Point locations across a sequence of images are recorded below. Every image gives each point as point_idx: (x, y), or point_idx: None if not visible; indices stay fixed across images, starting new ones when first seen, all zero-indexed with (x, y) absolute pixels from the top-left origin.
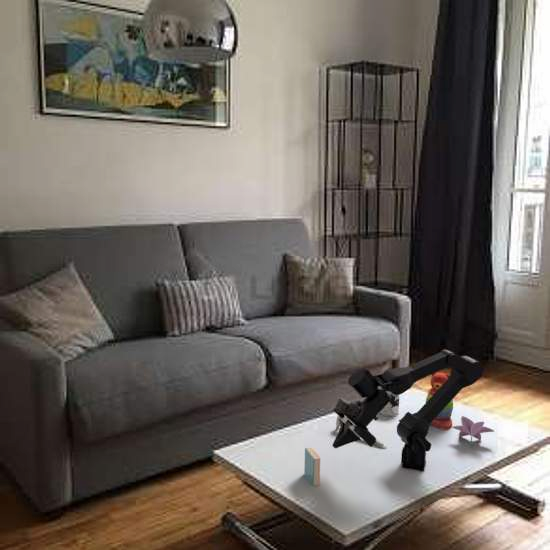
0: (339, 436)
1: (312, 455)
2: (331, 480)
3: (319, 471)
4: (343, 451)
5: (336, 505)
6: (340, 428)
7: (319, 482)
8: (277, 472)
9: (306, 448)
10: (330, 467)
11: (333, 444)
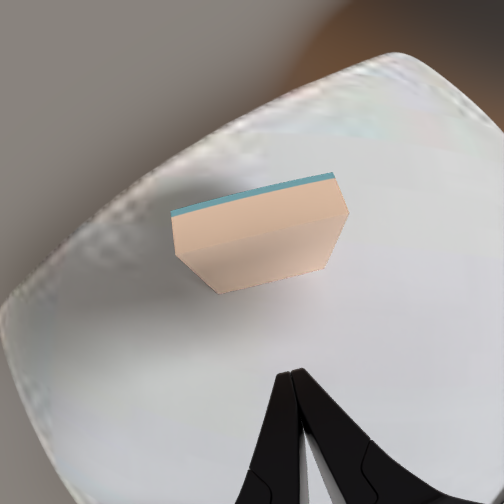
0: (321, 459)
1: (220, 207)
2: (253, 353)
3: (201, 277)
4: (491, 413)
5: (79, 327)
6: (415, 498)
7: (215, 291)
8: (321, 149)
9: (327, 179)
10: (376, 362)
11: (294, 378)
